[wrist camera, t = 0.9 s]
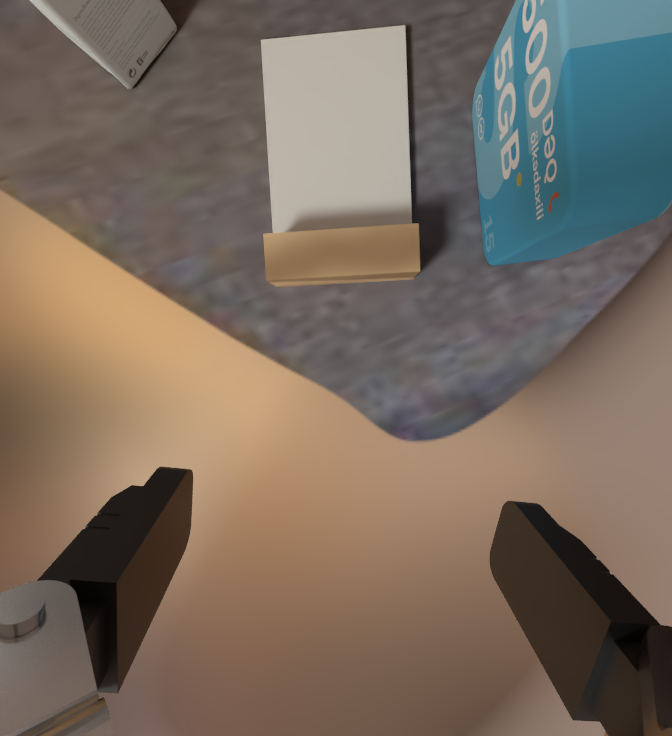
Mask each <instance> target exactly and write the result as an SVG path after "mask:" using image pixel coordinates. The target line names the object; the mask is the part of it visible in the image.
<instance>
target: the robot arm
mask: <svg viewBox="0 0 672 736" xmlns="http://www.w3.org/2000/svg"><path fill="white" fill-rule="evenodd" d="M192 491H193V472H192V470H190V469H179V468H169V467H159V468H158V469H157V470H156V471H155V472H154V474H153V475H152V476H151V477H150V479H149V480H148V481H147V482H146V484H145V485H144V486H133V485H132V486H130V487H128V488H127V489H125V490H123V491H122V492H120V493H118V494H116V495H115V496H113V497H111V498H110V500H109V501H108V502H107V503H106V504H105V505H104V506H103V507H102V509H101V510H100V511H99V512H98V515H97V516H95V517H94V518H93V519H92V520H91V521H90V522H89V523H88V524H87V525H86V528H85V529H83V530H82V531H81V532H80V533H79V534H78V535H77V537H76V538H75V539H74V540H73V541H72V542H71V543H70V544H69V546H68V547H67V548H66V549H65V550H64V551H63V552H62V554H61V555H60V556H59V557H58V558H57V559H56V560H55V561H54V563H52V565H51V566H50V567H49V568H48V569H47V570H46V571H45V573H44V574H43V575H42V576H41V577H40V578H39V579H38V580H37V581H35V582H29V583H26V584H22V585H19V586H16V587H13V588H11V589H9V590H6V591H4V592H3V593H1V594H0V736H114V731H113V727H112V723H111V718H110V714H109V711H108V707H107V704H106V701H105V699H104V698H101V699H99V696H98V692H104V693H105V692H106V693H118V692H119V690H120V688H121V685H122V684H123V681H124V679H125V677H126V675H127V672H128V671H129V669H130V666H131V664H132V662H133V660H134V658H135V656H136V654H137V651H138V649H139V647H140V645H141V643H142V641H143V639H144V637H145V635H146V633H147V630H148V628H149V626H150V624H151V622H152V620H153V618H154V616H155V613H156V611H157V609H158V607H159V605H160V603H161V601H162V599H163V596H164V594H165V592H166V590H167V588H168V586H169V584H170V581H171V579H172V577H173V575H174V573H175V571H176V568H177V567H178V564H179V562H180V560H181V558H182V556H183V554H184V552H185V549H186V546H187V543H188V539H189V535H190V529H191V515H192ZM490 567H491V571H492V574H493V577H494V579H495V581H496V582H497V584H498V586H499V588H500V590H501V591H502V593H503V595H504V597H505V599H506V601H507V602H508V604H509V606H510V608H511V610H512V611H513V613H514V615H515V617H516V619H517V620H518V622H519V624H520V626H521V628H522V629H523V631H524V633H525V635H526V637H527V638H528V640H529V642H530V644H531V646H532V647H533V649H534V651H535V653H536V654H537V656H538V658H539V660H540V662H541V664H542V665H543V667H544V669H545V671H546V673H547V674H548V676H549V678H550V680H551V681H552V683H553V685H554V687H555V689H556V690H557V692H558V694H559V696H560V698H561V700H562V701H563V703H564V705H565V707H566V708H567V710H568V712H569V714H570V716H571V717H572V719H573V720H581V721H600V722H601V724H602V726H603V727H604V729H605V731H606V732H605V734H604V736H672V627H670V626H664V625H660V624H659V623H658V622H657V620H656V619H655V618H654V617H653V616H651V614H650V613H649V612H648V611H647V610H646V609H645V608H644V607H643V606H642V605H641V604H640V603H639V601H637V599H636V598H635V597H634V596H633V595H632V594H631V593H630V592H629V591H628V590H627V589H626V588H625V587H624V586H623V585H622V583H621V582H620V581H619V580H618V579H617V578H616V577H615V576H614V575H611V574H610V572H609V570H608V569H607V568H606V567H605V566H604V565H603V563H602V562H601V561H600V560H597V559H596V556H595V555H594V554H593V553H592V552H591V551H590V550H589V549H588V548H587V547H586V545H585V544H584V543H583V542H582V541H581V540H580V539H578V538H577V537H575V536H574V535H572V534H571V533H569V532H568V531H567V530H565V529H564V528H562V527H561V526H559V525H558V524H557V523H556V521H555V520H554V519H553V518H552V517H551V516H550V515H549V514H548V513H547V512H546V511H545V509H544V508H543V507H542V506H541V505H539V504H535V503H526V502H515V501H507V502H506V503H505V504H504V505H503V507H502V510H501V514H500V518H499V521H498V525H497V528H496V532H495V536H494V539H493V543H492V547H491V551H490Z"/></svg>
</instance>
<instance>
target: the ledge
mask: <svg viewBox="0 0 672 736" xmlns="http://www.w3.org/2000/svg"><path fill="white" fill-rule="evenodd" d="M263 237H264V252H265V268H266V281H268V282H270V283H271V284H273V285H275V286H276V287H292V286H309V285H326V284H343V283H359V282H376V281H393V280H410V279H414V277H415V276H416V275H417V274H418V273H419V272H420V245H419V223H413V224H399V225H384V226H370V227H355V228H341V229H326V230H312V231H297V232H283V233H268V234H263Z"/></svg>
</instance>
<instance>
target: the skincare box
mask: <svg viewBox="0 0 672 736" xmlns="http://www.w3.org/2000/svg"><path fill="white" fill-rule="evenodd" d="M30 1H31V2H32V3H33V4H34V5H35V6H36V7H37V8H38V9H39V10H40V11H41V12H42V13H43V14H44V15H45V16H46V17H47V18H48V19H49V20H50V21H51V22H52V23H53V24H54V25H55V26H56V27H57V28H58V29H59V30H61V31H62V32H63V33H64V34H65V35H66V36H67V37H68V38H70V39H71V40H72V41H73V42H74V43H75V44H76V45H78V46H79V47H80V48H81V49H82V50H84V51H85V52H86V53H87V54H88V55H89V56H91V57H92V58H93V59H94V60H95V61H96V62H98V63H99V64H100V65H101V66H102V67H104V68H105V69H106V70H107V71H109V72H110V73H111V74H113V75H114V76H115V77H116V78H117V79H118V80H119V81H120V82H121V83H122V84H123V85H124V86H126V87H127V88H128V89H132V88H133V86H134V85H135V84H136V83H137V81H138V80H139V79H140V77H141V75H142V74H143V73H144V71H145V70H146V69H147V67H148V66H149V65H150V64H151V63H152V61H153V60H154V59H155V58H156V57H157V55H158V54H159V53H160V52H161V51H162V49H163V48H164V46H165V45H166V44H167V43H168V41H169V40H170V39H171V37H172V36H173V35H174V34H175V32H176V30H177V27H176V24H175V22H174V20H173V19H172V17H171V16H170V14H169V13H168V11H167V10H166V8H165V7H164V5H163V4H162V2H161V0H30Z"/></svg>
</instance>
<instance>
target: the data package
mask: <svg viewBox="0 0 672 736" xmlns="http://www.w3.org/2000/svg"><path fill="white" fill-rule="evenodd" d="M472 119H473V131H474V143H475V155H476V167H477V178H478V190H479V202H480V214H481V226H482V237H483V248H484V254H485V257H486V260H487V261H488V263H489V264H490V265H493V266H496V265H504V264H512V263H520V262H528V261H536V260H544V259H552V258H557V257H560V256H562V255H565V254H567V253H570V252H572V251H575V250H577V249H580V248H582V247H585V246H588V245H590V244H593V243H595V242H598V241H600V240H603V239H605V238H608V237H610V236H613V235H615V234H618V233H620V232H623V231H625V230H628V229H630V228H633V227H635V226H638V225H640V224H643V223H645V222H648V221H651V220H653V219H655V218H657V217H659V216H660V215H662V214H663V213H664V212H665V211H666V210H667V209H668V208H669V207H670V206H671V204H672V0H516V1H515V4H514V6H513V8H512V10H511V12H510V14H509V17H508V19H507V21H506V23H505V25H504V27H503V29H502V32H501V34H500V36H499V38H498V40H497V42H496V45H495V47H494V49H493V51H492V53H491V55H490V57H489V60H488V62H487V64H486V66H485V68H484V70H483V73H482V75H481V77H480V79H479V81H478V83H477V86H476V89H475V93H474V98H473V108H472Z"/></svg>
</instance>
